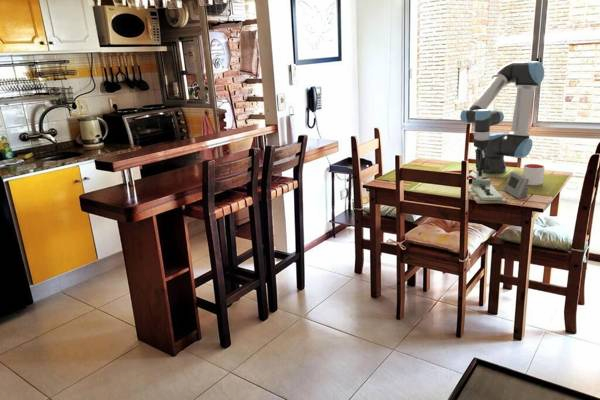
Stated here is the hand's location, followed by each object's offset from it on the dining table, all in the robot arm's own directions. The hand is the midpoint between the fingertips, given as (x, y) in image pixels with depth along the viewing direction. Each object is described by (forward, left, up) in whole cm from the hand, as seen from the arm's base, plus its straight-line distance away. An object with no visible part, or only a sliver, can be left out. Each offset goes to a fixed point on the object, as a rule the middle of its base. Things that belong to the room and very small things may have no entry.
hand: (479, 181), depth 249 cm
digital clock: (+14, +15, -4) cm, 21 cm away
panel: (+16, 0, -2) cm, 16 cm away
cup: (-5, +30, -4) cm, 30 cm away
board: (+13, 0, -3) cm, 14 cm away
